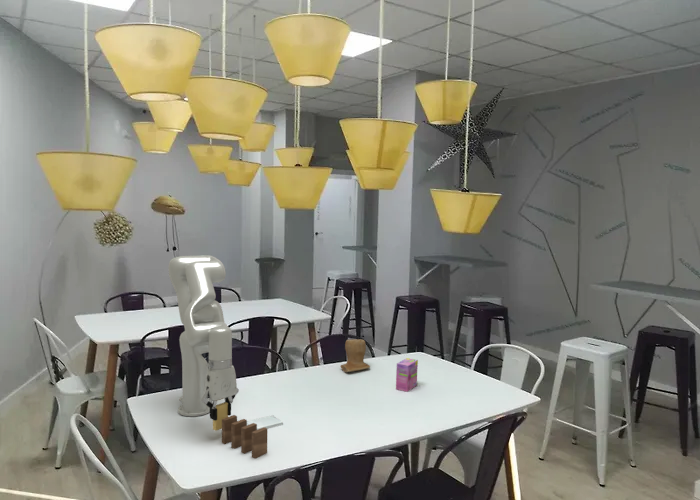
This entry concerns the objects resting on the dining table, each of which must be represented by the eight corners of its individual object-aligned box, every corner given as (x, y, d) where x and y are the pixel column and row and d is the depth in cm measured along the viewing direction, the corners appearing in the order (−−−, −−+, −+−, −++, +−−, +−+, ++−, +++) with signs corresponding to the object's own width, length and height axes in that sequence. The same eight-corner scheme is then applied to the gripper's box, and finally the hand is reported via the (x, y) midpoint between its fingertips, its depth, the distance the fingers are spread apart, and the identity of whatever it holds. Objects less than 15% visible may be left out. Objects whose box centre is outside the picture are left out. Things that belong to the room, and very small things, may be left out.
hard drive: (272, 414, 190) (241, 421, 183) (283, 421, 184) (251, 429, 176) (272, 418, 190) (241, 426, 183) (283, 426, 184) (251, 434, 177)
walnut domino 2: (231, 447, 165) (231, 423, 165) (243, 442, 169) (243, 418, 169) (234, 449, 164) (234, 424, 164) (246, 443, 168) (246, 420, 168)
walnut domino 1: (221, 443, 168) (221, 419, 168) (233, 438, 172) (234, 414, 172) (224, 444, 167) (224, 420, 167) (236, 439, 171) (237, 416, 171)
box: (407, 392, 220) (408, 365, 220) (395, 389, 223) (396, 363, 223) (417, 385, 229) (418, 359, 228) (405, 383, 232) (406, 357, 231)
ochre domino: (228, 426, 174) (228, 403, 173) (215, 430, 170) (215, 407, 169) (225, 425, 175) (225, 402, 174) (212, 429, 171) (212, 406, 170)
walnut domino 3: (241, 452, 162) (241, 427, 162) (253, 446, 166) (253, 422, 165) (244, 453, 161) (244, 429, 161) (256, 448, 165) (256, 424, 164)
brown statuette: (358, 364, 261) (359, 335, 260) (373, 370, 251) (374, 340, 250) (334, 368, 252) (334, 338, 251) (348, 375, 242) (348, 344, 241)
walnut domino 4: (251, 457, 159) (251, 432, 158) (263, 451, 163) (264, 427, 162) (254, 458, 158) (255, 433, 157) (267, 453, 162) (267, 428, 161)
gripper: (205, 371, 162) (205, 427, 163) (247, 360, 175) (247, 412, 176) (191, 367, 167) (192, 421, 168) (233, 356, 180) (233, 407, 181)
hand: (220, 416), depth 172 cm, fingers closed on ochre domino, 4 cm apart
